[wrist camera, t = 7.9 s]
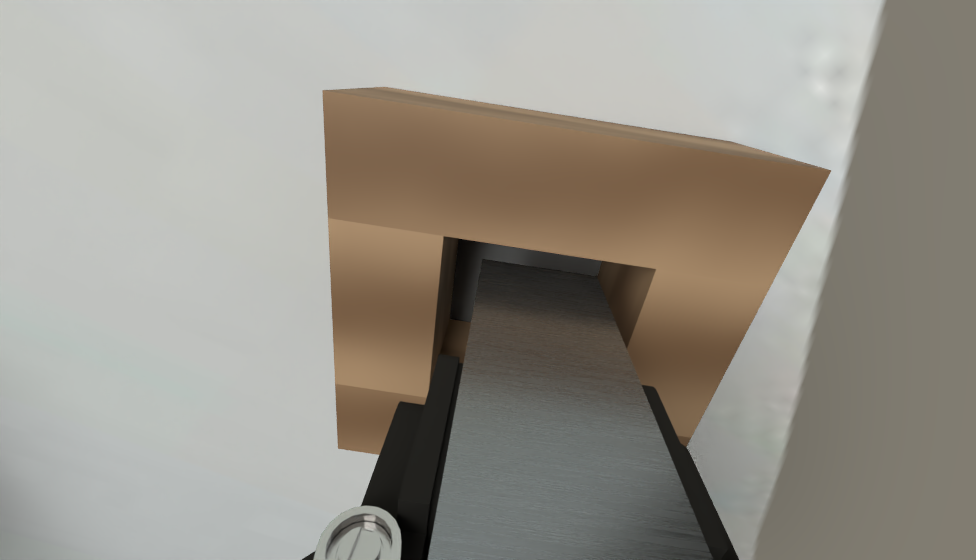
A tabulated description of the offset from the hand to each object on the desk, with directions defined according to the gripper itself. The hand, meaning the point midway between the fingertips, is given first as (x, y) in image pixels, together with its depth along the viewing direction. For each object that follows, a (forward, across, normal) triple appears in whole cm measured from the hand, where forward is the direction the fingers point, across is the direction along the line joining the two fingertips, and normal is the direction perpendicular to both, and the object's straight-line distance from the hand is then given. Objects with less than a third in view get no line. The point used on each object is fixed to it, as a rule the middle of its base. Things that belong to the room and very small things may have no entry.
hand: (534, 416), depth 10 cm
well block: (+9, 0, 0) cm, 9 cm away
